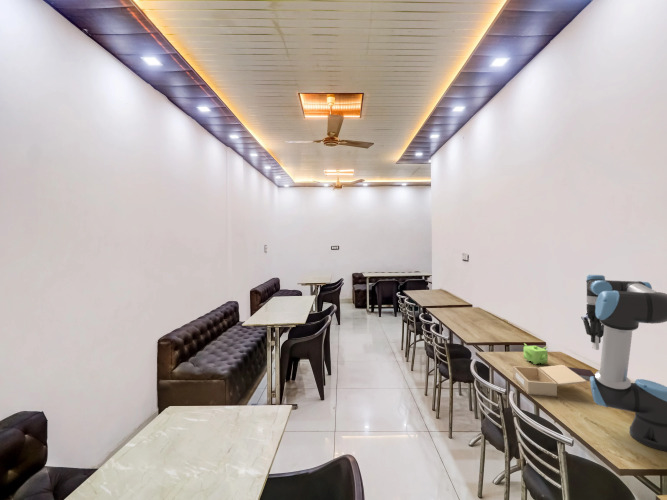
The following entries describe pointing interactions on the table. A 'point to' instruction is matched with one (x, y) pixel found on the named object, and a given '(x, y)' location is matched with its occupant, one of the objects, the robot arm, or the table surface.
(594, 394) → the robot arm
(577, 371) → the book
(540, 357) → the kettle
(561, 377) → the lid
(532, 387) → the open box
